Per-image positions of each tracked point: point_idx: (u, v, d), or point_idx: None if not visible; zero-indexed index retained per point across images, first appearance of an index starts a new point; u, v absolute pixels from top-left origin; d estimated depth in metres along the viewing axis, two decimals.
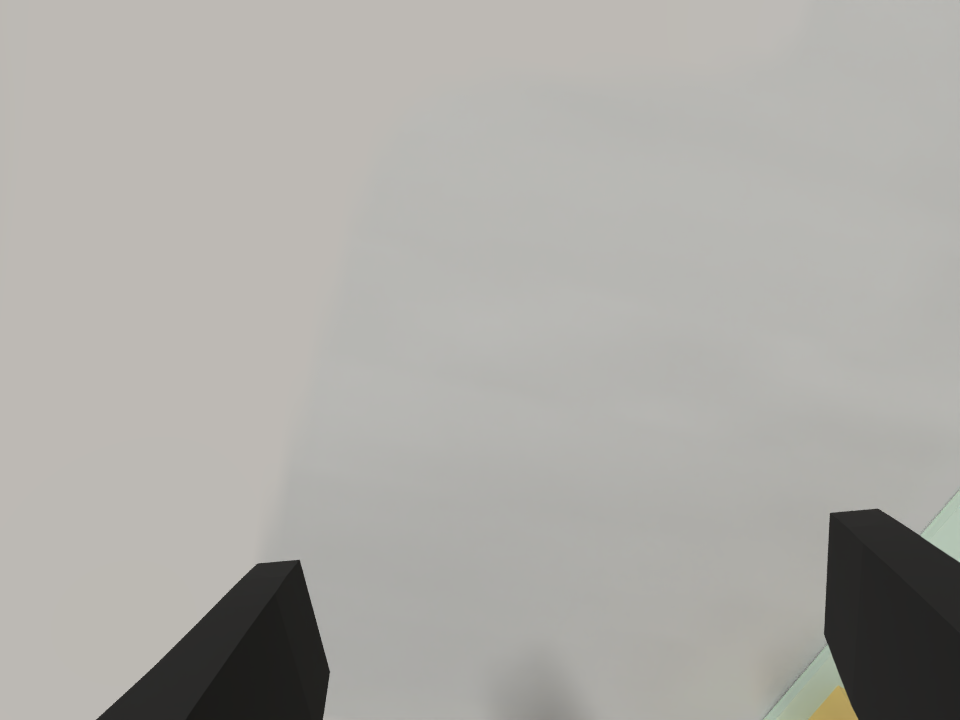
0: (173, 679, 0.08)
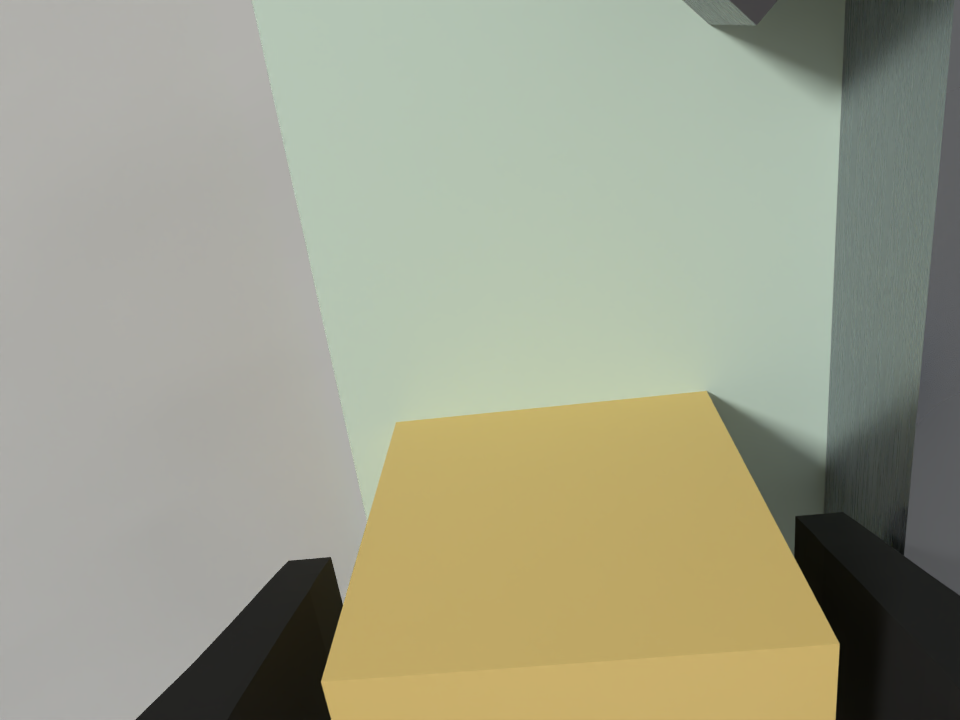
0: (213, 676, 0.08)
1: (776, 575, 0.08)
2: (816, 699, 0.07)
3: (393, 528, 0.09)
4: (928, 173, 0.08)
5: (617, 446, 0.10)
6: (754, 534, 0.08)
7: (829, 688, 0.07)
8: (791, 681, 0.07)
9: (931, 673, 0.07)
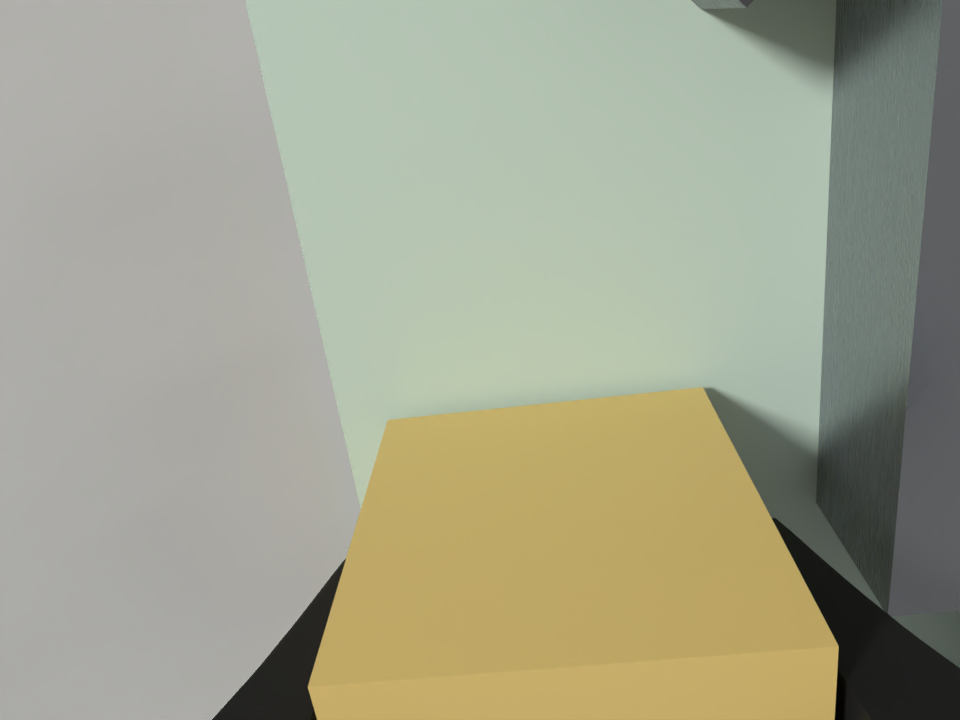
0: (291, 670, 0.08)
1: (773, 575, 0.07)
2: (815, 703, 0.07)
3: (382, 528, 0.09)
4: (918, 156, 0.08)
5: (612, 444, 0.10)
6: (751, 533, 0.08)
7: (828, 691, 0.07)
8: (789, 684, 0.07)
9: None
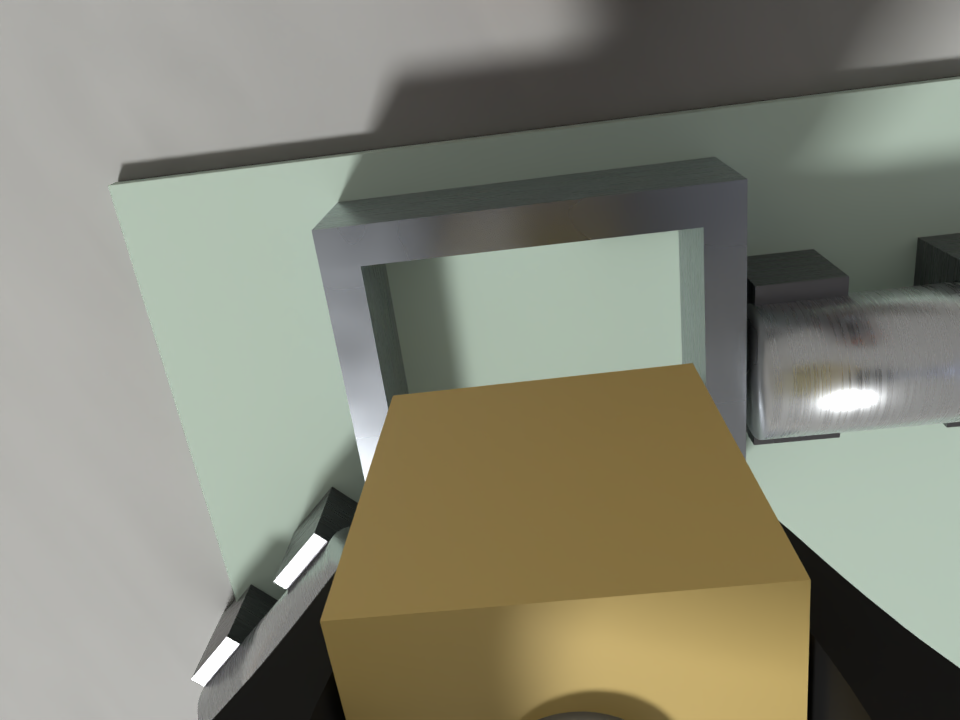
0: (291, 670, 0.08)
1: (753, 522, 0.08)
2: (790, 635, 0.07)
3: (389, 488, 0.10)
4: None
5: (605, 413, 0.11)
6: (734, 487, 0.09)
7: (802, 623, 0.07)
8: (766, 617, 0.07)
9: (835, 679, 0.07)
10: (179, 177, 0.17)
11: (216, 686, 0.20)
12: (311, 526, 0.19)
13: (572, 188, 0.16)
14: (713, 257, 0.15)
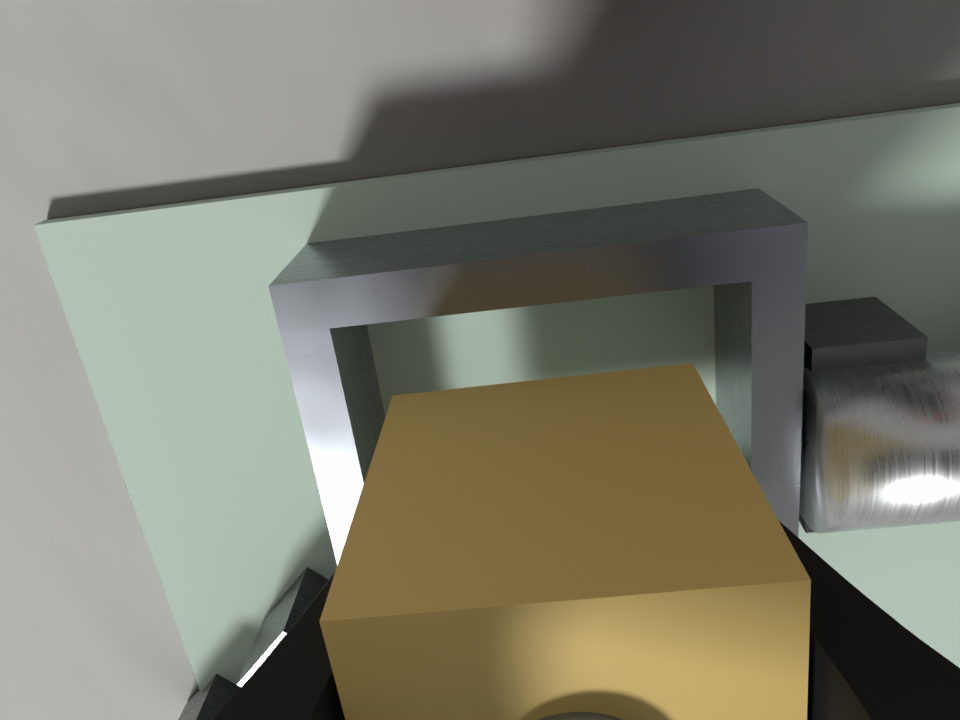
0: (291, 670, 0.08)
1: (753, 522, 0.08)
2: (790, 635, 0.07)
3: (389, 488, 0.10)
4: None
5: (605, 413, 0.11)
6: (734, 487, 0.09)
7: (802, 624, 0.07)
8: (766, 617, 0.07)
9: (835, 680, 0.07)
10: (117, 215, 0.14)
11: None
12: (281, 618, 0.16)
13: (588, 231, 0.13)
14: (763, 316, 0.12)
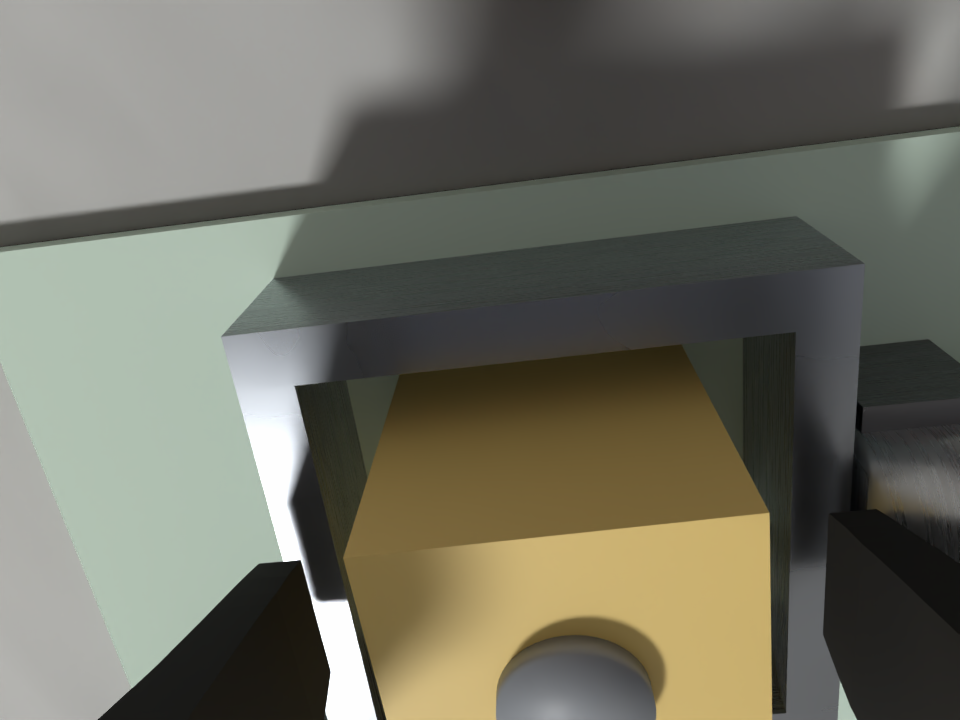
0: (174, 679, 0.08)
1: (722, 468, 0.09)
2: (753, 562, 0.08)
3: (399, 449, 0.11)
4: None
5: (595, 379, 0.12)
6: (707, 439, 0.10)
7: (763, 552, 0.08)
8: (731, 547, 0.08)
9: None
10: (55, 246, 0.13)
11: None
12: None
13: (600, 269, 0.11)
14: (808, 373, 0.10)
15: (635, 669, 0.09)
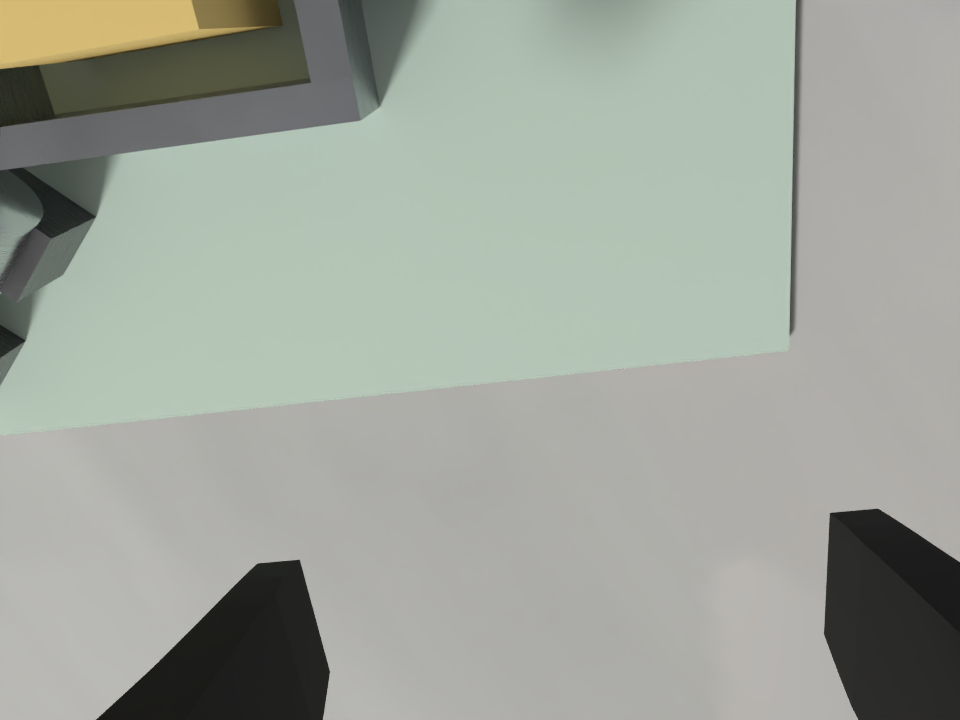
0: (173, 679, 0.08)
1: None
2: None
3: None
4: None
5: None
6: None
7: None
8: None
9: None
10: None
11: None
12: None
13: None
14: None
15: None
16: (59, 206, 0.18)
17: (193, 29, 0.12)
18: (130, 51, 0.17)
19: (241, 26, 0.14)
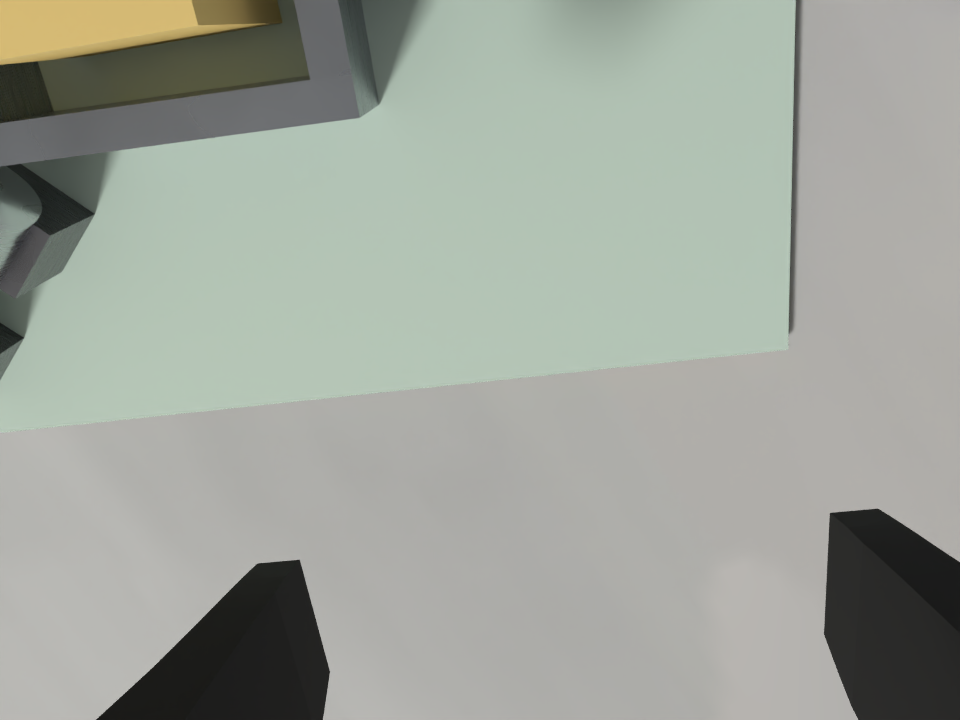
0: (173, 679, 0.08)
1: None
2: None
3: None
4: None
5: None
6: None
7: None
8: None
9: None
10: None
11: None
12: None
13: None
14: None
15: None
16: (57, 203, 0.18)
17: (192, 25, 0.12)
18: (129, 48, 0.17)
19: (240, 23, 0.14)
